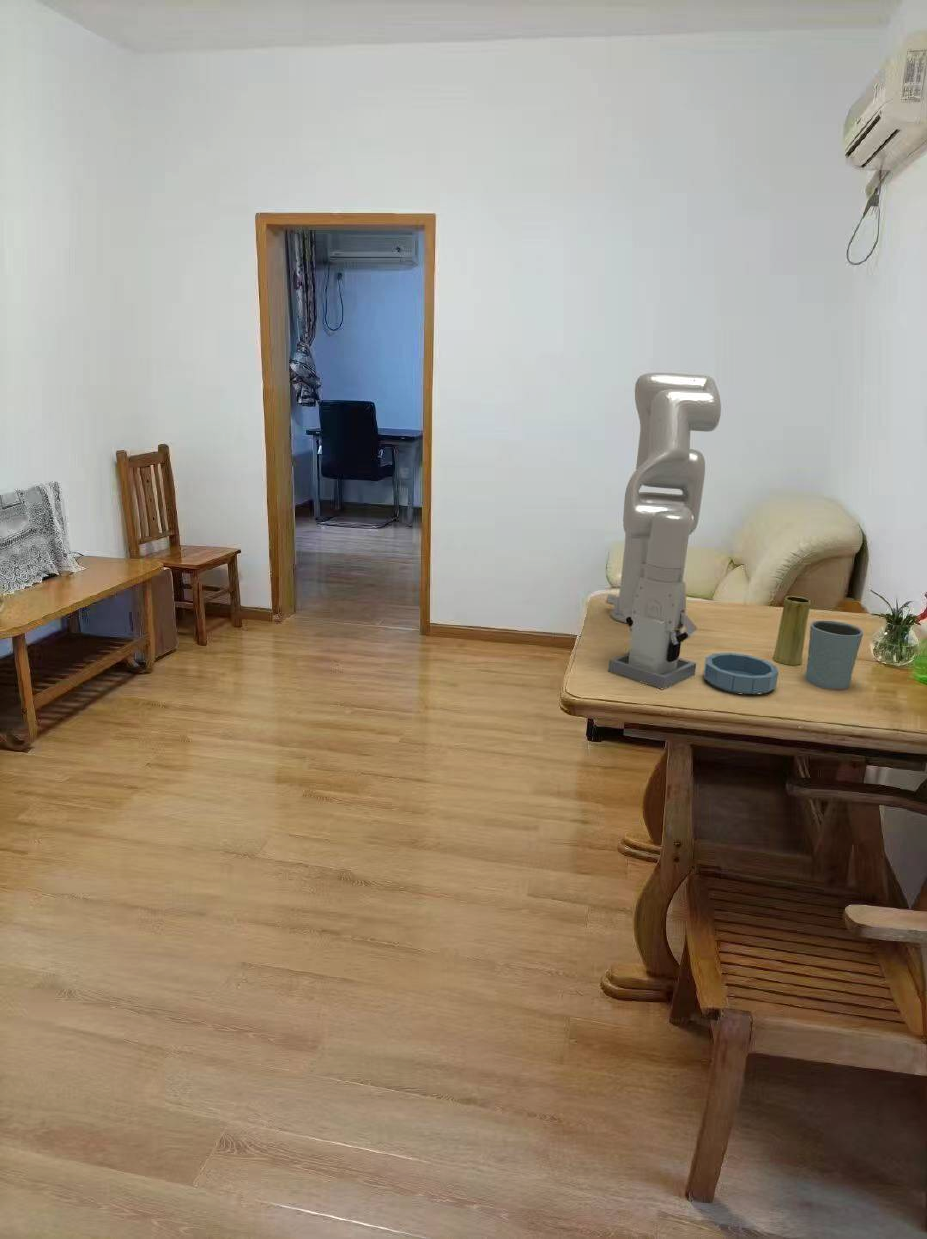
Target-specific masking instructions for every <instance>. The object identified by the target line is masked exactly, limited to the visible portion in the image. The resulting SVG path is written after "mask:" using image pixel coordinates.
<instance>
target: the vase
mask: <svg viewBox="0 0 927 1239" xmlns="http://www.w3.org/2000/svg"><path fill="white" fill-rule="evenodd" d="M811 603H812V602H811V600H810V599H807V598H806V597H802V596H796V595H788V596H785V598H784V602H783V607H782V612H781V618H780V624H779V628H778V633H777V637H776V638H777V639H776V643H775V647H774V653H773V654H772V659H773V661H775V662H777V663H779V664H782V665H786V666H787V665H788V666H798V665H801V664H802V662H803V661H802V660H803V653H804V645H805V638H806V631H807V624H808V619H809V613H810V607H811Z"/></svg>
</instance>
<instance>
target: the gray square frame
mask: <svg viewBox="0 0 927 1239" xmlns="http://www.w3.org/2000/svg"><path fill="white" fill-rule="evenodd" d="M629 653H630V651H629V652H625V653H623V654H621V655H619V656H615V657H613V658H611V659H609V660H608V668H607V671H608V672H610V673H613V674H616V675H618V676H621V675H623V676H622V677H624V676H625V678H627V679H630V680H632V681H636V680H637V682H639V681H642V682H644V683H643V684H645V683H647V684H646V685H648V684H650V685H649V686H651V685H652V686H651V687H654V686H655V687H654V688H657V687H660V688H663V689H664V688H665V687H668V688H670V687H672V686H674V685H676V684H678V683H680V682H681V681H684V680H686V679H688V678H690V677H693V676H694V675H696V669H697V668H696V667H697V662H694V661H691V660H688V659H684V658H681V657H678V661H677V668H676V670H673V671H671V672H669V673H667V674H665V675H660V674H657V673H654V672H651V671H648V670H645V669H642V668H639V667H636V666H633V665H629V664H628V663H629ZM679 681H680V682H679ZM642 682H641V683H642ZM677 682H678V683H677ZM675 683H676V684H675ZM673 684H674V685H673ZM671 685H672V686H671ZM669 686H670V687H669ZM660 688H659V689H660ZM663 689H662V690H663ZM664 690H665V689H664Z"/></svg>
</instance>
